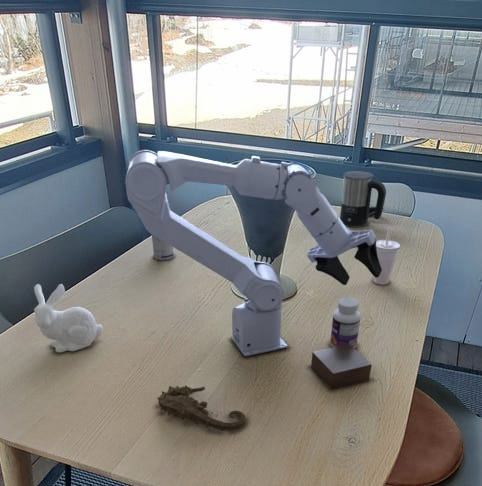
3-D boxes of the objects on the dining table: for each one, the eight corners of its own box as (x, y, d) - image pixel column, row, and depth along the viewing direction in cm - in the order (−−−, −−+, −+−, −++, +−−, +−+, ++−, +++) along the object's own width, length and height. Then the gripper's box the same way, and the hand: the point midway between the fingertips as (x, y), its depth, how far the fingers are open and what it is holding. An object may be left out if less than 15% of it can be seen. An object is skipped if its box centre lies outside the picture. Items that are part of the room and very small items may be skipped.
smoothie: (365, 284, 132) (373, 228, 124) (371, 274, 137) (379, 220, 129) (391, 288, 130) (401, 232, 122) (395, 278, 135) (405, 224, 127)
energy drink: (177, 255, 146) (174, 211, 139) (165, 262, 142) (160, 217, 135) (162, 251, 148) (158, 208, 141) (150, 257, 145) (145, 213, 138)
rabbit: (45, 358, 103) (30, 302, 96) (40, 336, 109) (25, 283, 102) (108, 345, 107) (98, 291, 100) (98, 325, 114) (88, 272, 106)
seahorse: (211, 447, 82) (210, 432, 80) (146, 404, 91) (144, 389, 89) (251, 421, 88) (251, 406, 86) (186, 383, 97) (185, 368, 95)
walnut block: (331, 389, 95) (333, 373, 93) (310, 367, 101) (312, 351, 99) (369, 380, 98) (371, 364, 96) (347, 359, 104) (349, 343, 102)
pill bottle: (328, 338, 110) (333, 295, 104) (354, 338, 110) (360, 296, 104) (331, 351, 106) (335, 307, 100) (357, 352, 106) (364, 308, 100)
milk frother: (337, 226, 167) (342, 177, 158) (339, 211, 180) (344, 165, 171) (382, 229, 166) (390, 179, 157) (381, 214, 178) (388, 167, 169)
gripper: (364, 198, 92) (401, 254, 99) (303, 221, 103) (340, 270, 110) (350, 225, 89) (389, 281, 96) (289, 246, 100) (328, 295, 107)
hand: (362, 277), depth 103 cm, fingers open, 7 cm apart
